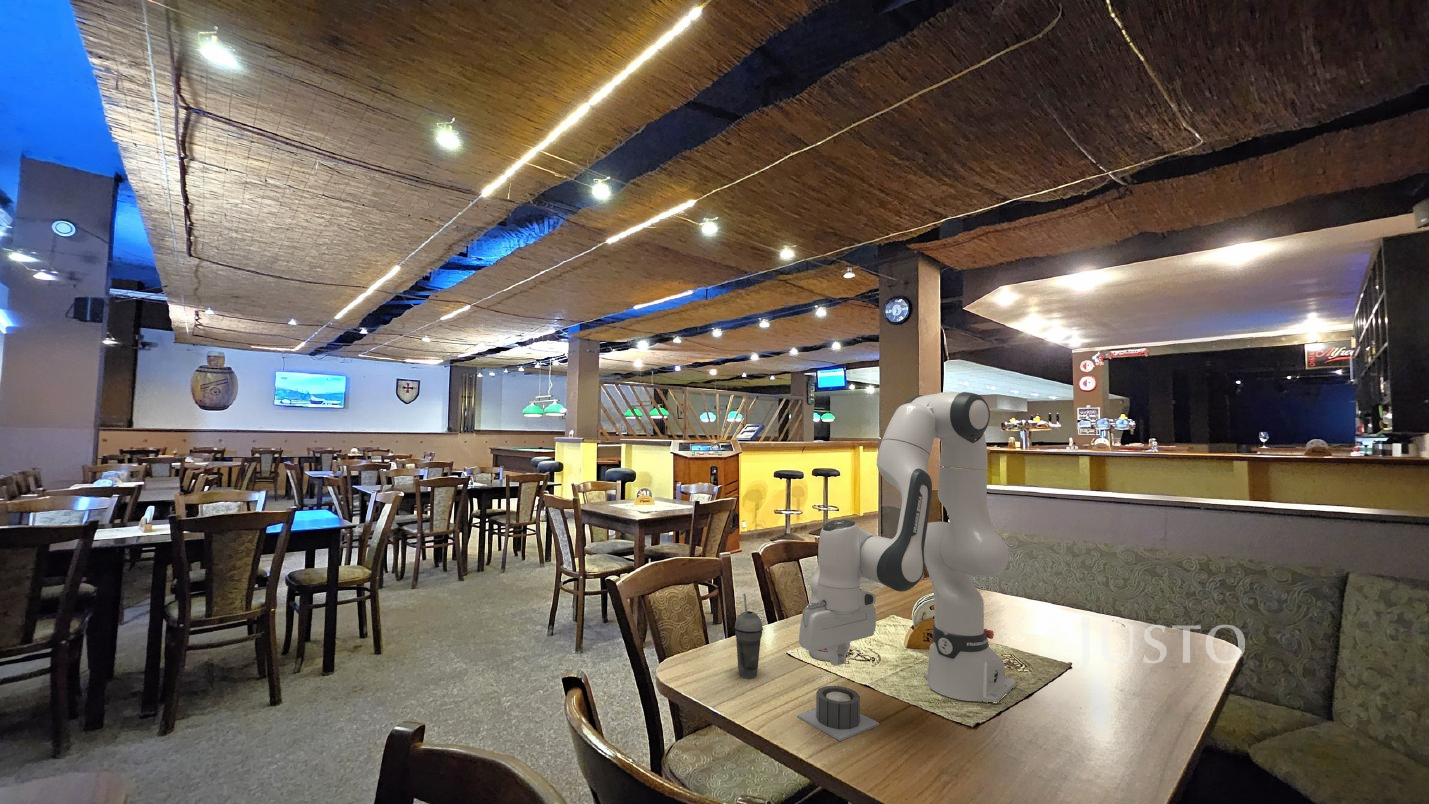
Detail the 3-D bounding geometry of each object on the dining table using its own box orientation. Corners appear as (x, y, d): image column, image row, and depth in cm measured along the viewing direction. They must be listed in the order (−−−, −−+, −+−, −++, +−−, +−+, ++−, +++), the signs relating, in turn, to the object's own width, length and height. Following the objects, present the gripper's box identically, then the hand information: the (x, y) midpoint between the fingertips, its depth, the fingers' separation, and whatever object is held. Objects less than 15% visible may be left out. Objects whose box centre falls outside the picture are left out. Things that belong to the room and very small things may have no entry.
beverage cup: (760, 682, 142) (761, 598, 143) (730, 679, 143) (732, 596, 144) (763, 671, 149) (765, 591, 150) (735, 668, 150) (737, 589, 152)
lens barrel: (836, 703, 131) (836, 678, 132) (879, 725, 122) (879, 698, 122) (797, 716, 124) (797, 690, 125) (839, 741, 115) (840, 712, 115)
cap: (837, 711, 127) (837, 689, 127) (855, 720, 122) (855, 698, 123) (821, 717, 124) (821, 695, 124) (839, 726, 120) (839, 703, 120)
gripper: (814, 608, 116) (813, 679, 115) (881, 594, 128) (880, 659, 127) (792, 600, 121) (791, 669, 120) (858, 588, 133) (858, 650, 132)
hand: (838, 664), depth 124 cm, fingers closed
